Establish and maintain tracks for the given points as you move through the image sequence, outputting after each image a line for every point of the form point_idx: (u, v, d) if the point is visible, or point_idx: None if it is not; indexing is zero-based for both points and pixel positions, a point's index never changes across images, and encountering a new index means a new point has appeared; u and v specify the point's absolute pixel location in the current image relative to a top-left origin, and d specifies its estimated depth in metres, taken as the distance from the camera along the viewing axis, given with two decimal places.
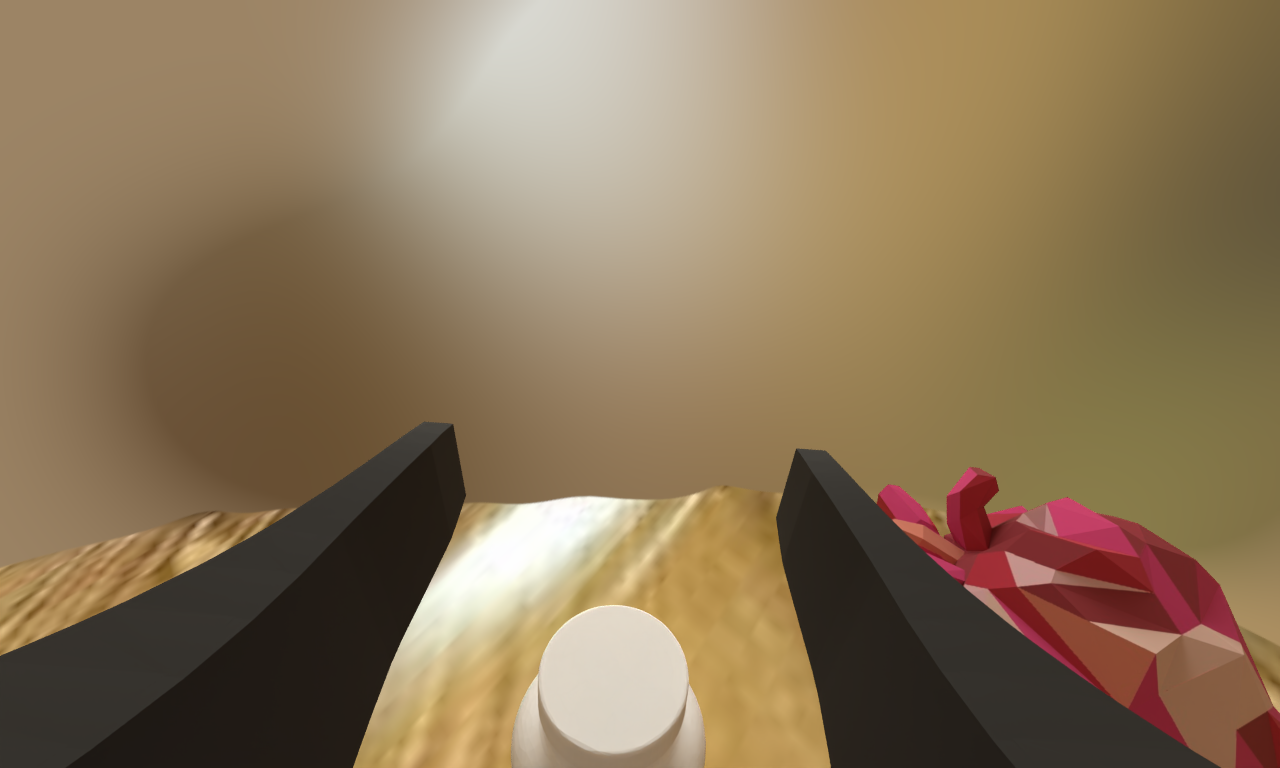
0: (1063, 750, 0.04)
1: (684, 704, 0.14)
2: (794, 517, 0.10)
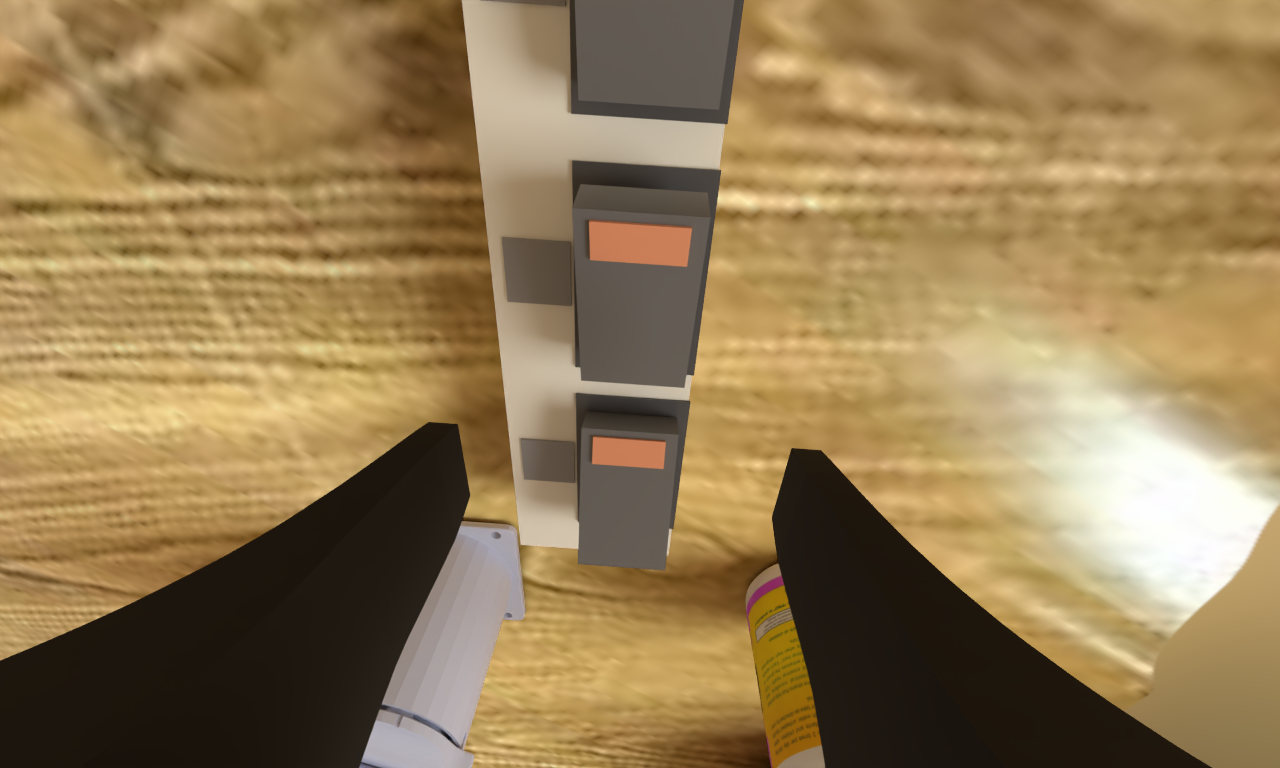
0: (1053, 749, 0.04)
1: None
2: (789, 517, 0.10)
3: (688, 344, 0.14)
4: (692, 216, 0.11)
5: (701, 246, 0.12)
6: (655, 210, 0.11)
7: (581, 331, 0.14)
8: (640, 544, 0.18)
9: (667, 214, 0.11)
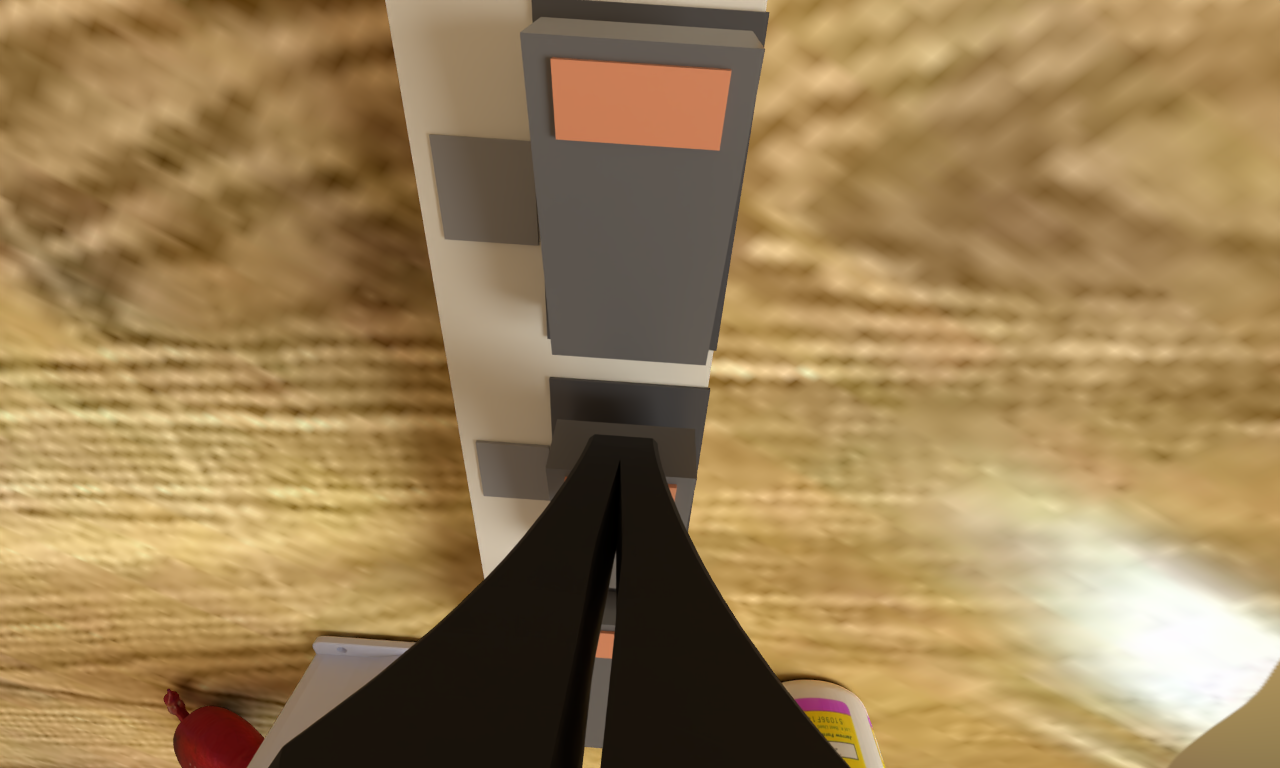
0: (672, 720, 0.04)
1: None
2: None
3: None
4: (676, 477, 0.10)
5: (687, 497, 0.11)
6: None
7: None
8: None
9: None
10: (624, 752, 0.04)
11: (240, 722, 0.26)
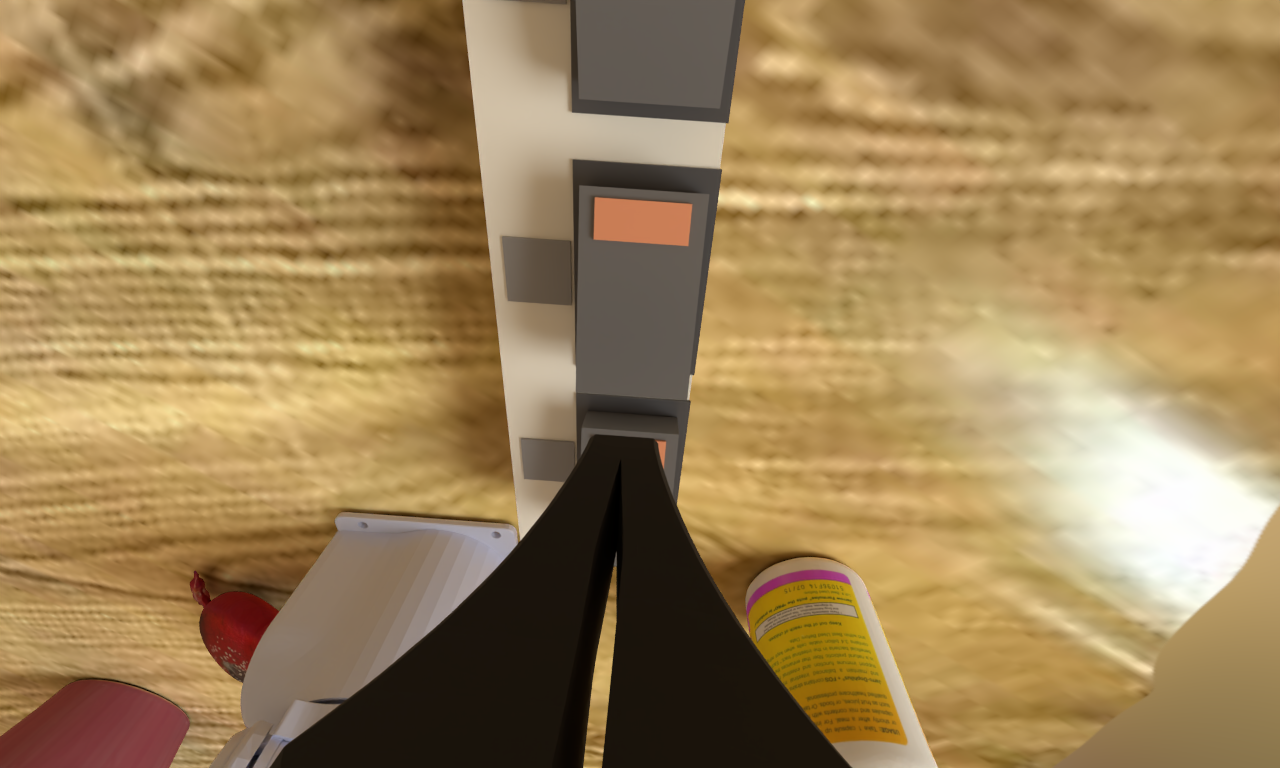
0: (674, 720, 0.04)
1: None
2: None
3: (690, 342, 0.13)
4: (692, 193, 0.12)
5: (701, 225, 0.12)
6: None
7: (580, 327, 0.13)
8: None
9: (668, 191, 0.12)
10: (625, 752, 0.04)
11: (264, 601, 0.27)
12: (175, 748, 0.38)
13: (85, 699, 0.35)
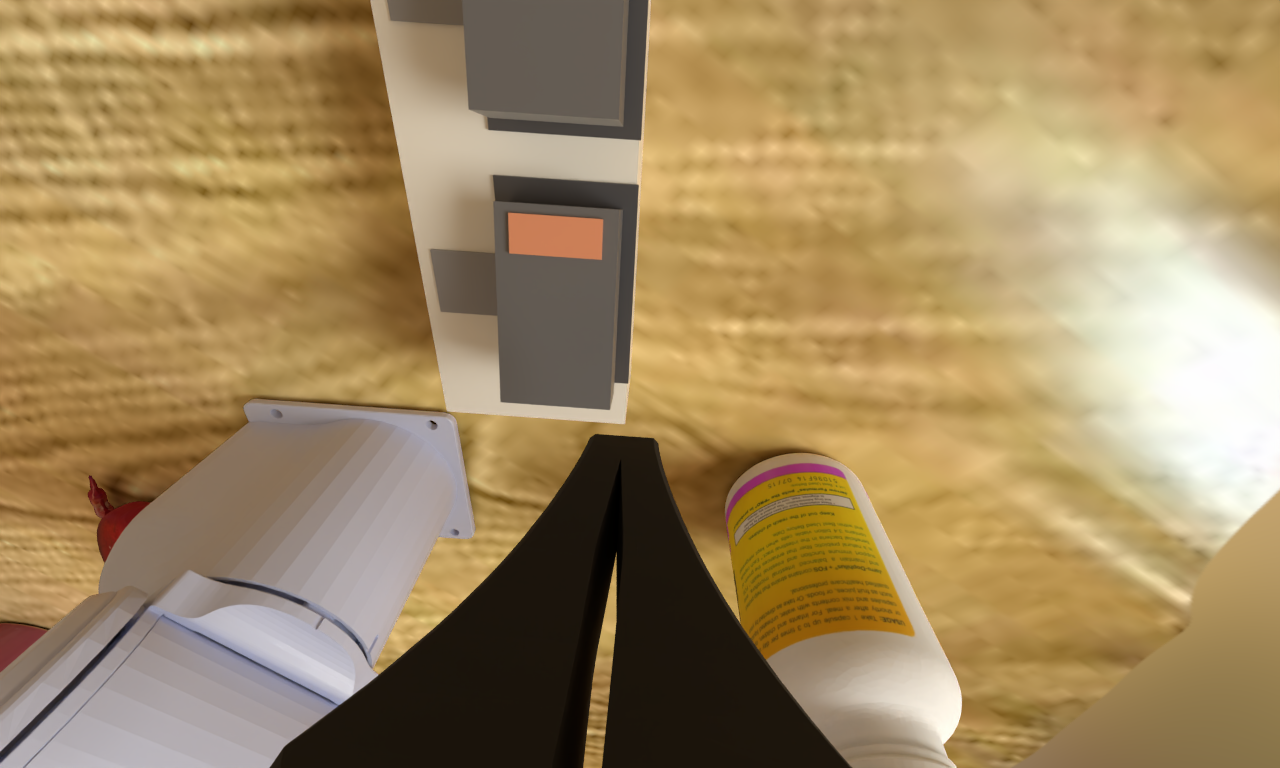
0: (674, 720, 0.04)
1: None
2: None
3: (619, 22, 0.10)
4: None
5: None
6: None
7: None
8: (577, 373, 0.14)
9: None
10: (625, 752, 0.04)
11: None
12: None
13: None
